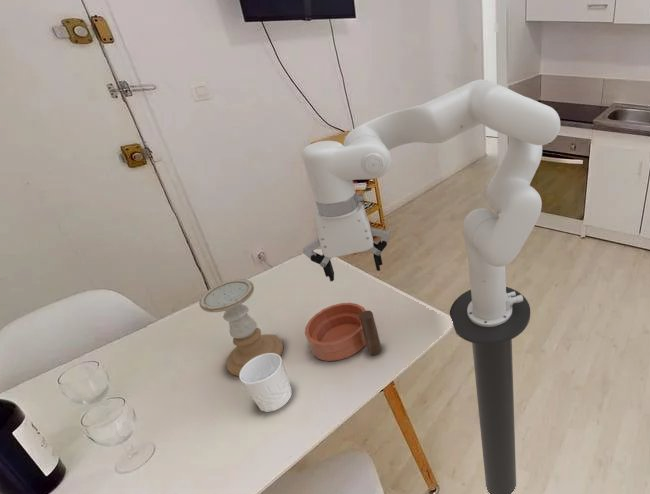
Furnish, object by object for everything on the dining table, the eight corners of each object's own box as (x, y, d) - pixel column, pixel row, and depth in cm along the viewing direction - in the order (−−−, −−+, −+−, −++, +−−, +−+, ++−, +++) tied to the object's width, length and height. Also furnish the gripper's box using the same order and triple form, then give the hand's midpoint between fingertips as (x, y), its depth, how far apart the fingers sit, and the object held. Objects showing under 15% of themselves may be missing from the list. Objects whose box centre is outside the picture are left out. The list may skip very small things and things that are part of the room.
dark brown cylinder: (381, 344, 103) (372, 309, 97) (382, 353, 101) (373, 317, 95) (368, 348, 102) (359, 312, 96) (369, 357, 100) (359, 320, 94)
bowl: (369, 313, 113) (365, 297, 110) (373, 352, 101) (368, 334, 98) (313, 328, 109) (307, 311, 106) (309, 369, 97) (302, 352, 94)
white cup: (257, 390, 92) (241, 360, 87) (295, 378, 95) (282, 348, 90) (253, 420, 86) (236, 389, 81) (294, 406, 88) (280, 375, 83)
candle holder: (260, 380, 94) (228, 315, 84) (215, 372, 97) (179, 308, 87) (294, 341, 105) (270, 279, 95) (253, 334, 107) (225, 273, 97)
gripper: (380, 188, 87) (394, 255, 95) (291, 203, 82) (314, 271, 90) (383, 204, 81) (397, 273, 89) (288, 220, 75) (312, 292, 84)
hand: (355, 272), depth 89 cm, fingers open, 9 cm apart
